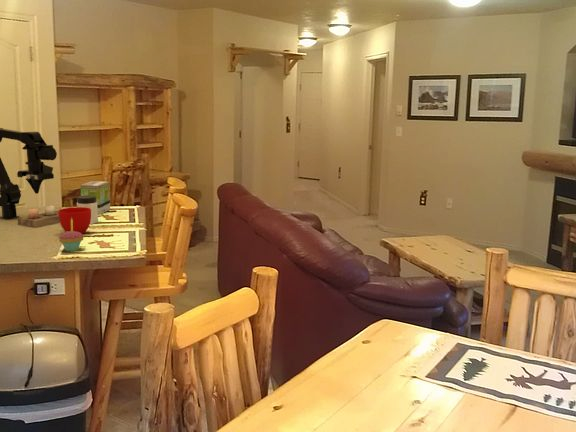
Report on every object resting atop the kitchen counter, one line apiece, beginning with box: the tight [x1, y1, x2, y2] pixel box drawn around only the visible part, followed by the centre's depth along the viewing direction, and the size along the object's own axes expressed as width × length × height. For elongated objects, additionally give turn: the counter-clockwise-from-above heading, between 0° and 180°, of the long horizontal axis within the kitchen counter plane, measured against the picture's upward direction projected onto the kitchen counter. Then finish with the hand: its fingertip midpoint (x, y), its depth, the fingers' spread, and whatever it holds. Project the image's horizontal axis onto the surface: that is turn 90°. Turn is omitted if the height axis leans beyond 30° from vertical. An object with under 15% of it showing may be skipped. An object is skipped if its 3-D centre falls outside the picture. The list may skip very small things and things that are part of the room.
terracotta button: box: [27, 207, 40, 219], centre depth 268 cm, size 4×4×4 cm
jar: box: [76, 195, 99, 225], centre depth 272 cm, size 9×8×12 cm
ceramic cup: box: [57, 206, 91, 235], centre depth 253 cm, size 13×17×10 cm
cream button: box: [44, 205, 56, 216], centre depth 275 cm, size 4×4×4 cm
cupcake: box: [58, 217, 84, 252], centre depth 224 cm, size 9×8×12 cm
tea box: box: [80, 180, 111, 216], centre depth 297 cm, size 15×10×15 cm
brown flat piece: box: [17, 209, 60, 228], centre depth 276 cm, size 12×25×3 cm, turn 149°
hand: (36, 193), depth 276 cm, fingers closed
